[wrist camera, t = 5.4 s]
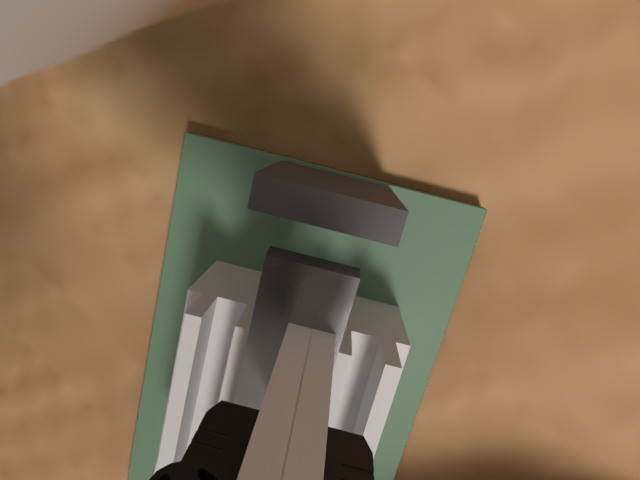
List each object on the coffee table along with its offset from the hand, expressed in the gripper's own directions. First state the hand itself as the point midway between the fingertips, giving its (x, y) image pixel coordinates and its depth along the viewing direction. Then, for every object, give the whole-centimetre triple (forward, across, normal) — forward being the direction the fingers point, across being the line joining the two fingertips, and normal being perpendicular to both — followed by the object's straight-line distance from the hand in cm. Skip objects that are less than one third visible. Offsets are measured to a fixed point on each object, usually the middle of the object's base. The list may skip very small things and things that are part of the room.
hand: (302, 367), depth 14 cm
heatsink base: (+9, -1, -5) cm, 10 cm away
